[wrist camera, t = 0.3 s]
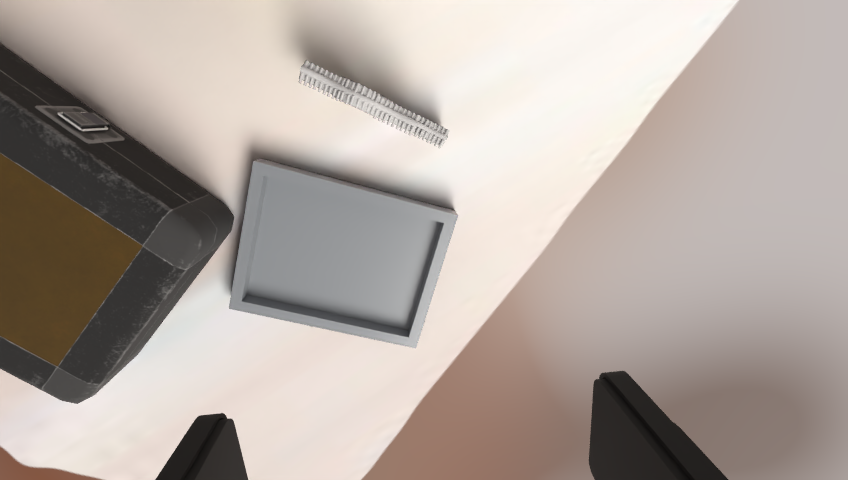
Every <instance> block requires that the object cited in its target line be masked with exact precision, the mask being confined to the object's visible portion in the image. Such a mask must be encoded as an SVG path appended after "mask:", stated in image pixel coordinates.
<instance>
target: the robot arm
mask: <svg viewBox="0 0 848 480" xmlns="http://www.w3.org/2000/svg"><path fill="white" fill-rule="evenodd" d="M589 465H590V469H591V472H592V474H593V477H594V479H595V480H728V479H727V478H726V477H725V476H724V475H723V474H722V472H721V471H720V470H719V469H718V468H717V467H716V466H715V465H714V464H713V463H712V462H711V461H710V460H709V459H708V457H707V456H706V455H705V454H704V453H703V452H702V451H701V450H700V449H699V448H698V447H697V446H696V444H695V443H694V442H693V441H692V440H691V439H690V438H689V437H688V436H687V435H686V434H685V433H684V432H683V431H682V429H681V428H680V427H678V426H677V425H676V424H675V423H673V422H672V421H671V420H670V419H669V418H668V417H667V416H666V414H665V413H664V412H663V411H662V410H661V409H660V408H659V407H658V406H657V405H656V404H655V403H654V402H653V400H652V399H651V398H650V397H649V396H648V395H647V394H646V393H645V392H644V391H643V390H642V389H641V387H640V386H639V385H638V384H637V383H636V382H635V381H634V380H633V379H632V378H631V377H630V376H629V375H628V374H627V373H626V372H625V371H617V372H608V373H602V374H601V375H600V377H599V379H596V380H595V381H594V387H593V404H592V420H591V436H590V452H589ZM156 480H248V477H247V473H246V469H245V465H244V461H243V457H242V453H241V449H240V445H239V441H238V437H237V433H236V429H235V425H234V421H233V420H232V419H227V417H226V415H225V414H223V413H220V414H211V415H201V416H199V417H197V418H196V419H195V421H194V422H193V424H192V425H191V427H190V428H189V430H188V431H187V433H186V434H185V436H184V437H183V439H182V440H181V442H180V443H179V445H178V446H177V448H176V449H175V451H174V452H173V454H172V455H171V457H170V458H169V460H168V461H167V463H166V465H165V466H164V468H163V469H162V471H161V472H160V474H159V475H158V477H157V478H156Z"/></svg>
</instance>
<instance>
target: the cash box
mask: <svg viewBox="0 0 848 480" xmlns="http://www.w3.org/2000/svg"><path fill="white" fill-rule="evenodd" d="M233 220H234V216H233V215H232V213H231V212H230V210H229V209H228V207H227V206H226V205H225V204H223V203H222V202H220V201H219V200H218V199H216V198H215V197H213V196H212V195H211V194H209V193H208V192H207V191H205V190H204V189H202V188H201V187H200V186H198V185H197V184H195V183H194V182H193V181H191V180H190V179H188V178H187V177H186V176H184V175H183V174H181V173H180V172H179V171H177V170H176V169H174V168H173V167H172V166H170V165H169V164H167V163H166V162H165V161H163V160H162V159H160V158H159V157H158V156H156V155H155V154H153V153H152V152H151V151H149V150H148V149H146V148H145V147H144V146H142V145H141V144H139V143H138V142H137V141H135V140H134V139H132V138H131V137H130V136H128V135H127V134H125V133H124V132H123V131H121V130H120V129H118V128H117V127H116V126H114V125H113V124H111V123H110V122H109V121H107V120H106V119H104V118H103V117H102V116H100V115H99V114H97V113H96V112H95V111H93V110H92V109H90V108H89V107H88V106H86V105H85V104H83V103H82V102H81V101H79V100H78V99H76V98H75V97H74V96H72V95H71V94H69V93H68V92H67V91H65V90H64V89H62V88H61V87H60V86H58V85H57V84H55V83H54V82H53V81H51V80H50V79H48V78H47V77H46V76H44V75H43V74H41V73H40V72H39V71H37V70H36V69H34V68H33V67H32V66H30V65H29V64H27V63H26V62H25V61H23V60H22V59H20V58H19V57H18V56H16V55H15V54H13V53H12V52H11V51H9V50H8V49H6V48H5V47H4V46H2V45H1V44H0V369H2V370H4V371H6V372H8V373H10V374H12V375H14V376H15V377H17V378H19V379H21V380H23V381H25V382H27V383H29V384H31V385H33V386H35V387H37V388H38V389H40V390H42V391H44V392H46V393H48V394H50V395H52V396H54V397H56V398H58V399H60V400H62V401H66V402H71V403H76V404H78V403H80V402H82V401H84V400H86V399H88V398H90V397H92V396H93V395H95V394H96V393H97V392H98V391H99V390H100V389H101V388H102V387H103V386H104V385H106V384H107V383H108V382H109V381H110V380H111V379H112V378H113V377H114V376H115V375H116V374H117V373H118V372H119V371H121V370H122V369H123V368H124V367H125V366H126V365H127V364H128V363H129V362H130V361H131V360H132V359H133V358H134V357H136V356H137V355H138V353H139V352H140V351H141V349H142V348H143V347H144V346H145V344H146V343H147V342H148V340H149V339H150V338H151V336H152V335H153V334H154V332H155V331H156V330H157V328H158V327H159V326H160V324H161V323H162V322H163V320H164V319H165V318H166V317H167V315H168V314H169V313H170V311H171V310H172V309H173V307H174V306H175V305H176V303H177V302H178V301H179V299H180V298H181V297H182V295H183V294H184V293H185V291H186V290H187V289H188V287H189V286H190V285H191V283H192V282H193V281H194V279H195V278H196V277H197V275H198V274H199V273H200V272H201V270H202V269H203V268H204V266H205V265H206V264H207V262H208V261H209V260H210V258H211V257H212V256H213V254H214V253H215V252H216V250H217V249H218V248H219V246H220V245H221V244H222V242H223V241H224V240H225V238H226V237H227V236H228V234H229V233H230V232H231V230H232V225H233Z"/></svg>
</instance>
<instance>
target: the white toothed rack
mask: <svg viewBox="0 0 848 480" xmlns="http://www.w3.org/2000/svg"><path fill="white" fill-rule="evenodd" d="M302 80H303V81H305V82H304V85H305V86H306V84H307V83H309V88H311V86H312V85H313V86H314V88H313V89H314V90H315V89H316V87H318V88H319V89H318V92H320V91H321V89H322V90H324V91H323V94H324V95H325V93H326V92H328V95H327V96H328V97H329V96H330V94H332V99H334V97H335V98H336V101H338V99H339V101H341V102H342V101H343V102H345V104H349V105H351V106H353V107H355V108H357V109H359V110H361V111H364V112H366V113H368V114H370V115H372V116H374V117H373V118H374V119H375V118H376V117H377V118H378V121H380V120H383V121H382V122H383V123H384V122H385V120H387V121H388V122H387V125H389V123H390V122H391V123H392V125H391V127H393V126H394V124H395V125H397V126H396V129H398V128H399V127H401V128H400V131H402V129H405V132H404V133H407V131H410V132H409V135H412V134H413V133H414V134H415V135H414V136H415V137H416V135H418V136H419V137H418V138H419V139H420V138H421V137H423V139H422V140H424V139H427V141H426V142H429V141H431V142H430V144H432V143H435V145H434V146H436V145H438V144H439V147H438V148H440V147H441V146H443V144H444V142H445V140H446V139H447V137H448V136H447V135H448V133H449V130H448V129H445V128H444V127H441V126H440V125H437V124H436V123H433V122H432V121H429V120H428V119H425V118H424V117H421V116H420V115H416V114H415V113H414V112H413V113H412V112H410V110H406V108H402V107H401V106H398V105H397V104H393V101H391V100H389V99H388V98H386V97H384V96H382V95H380V94H379V93H376V91H372V90H371V89H370V88H369V89H368V88H366V87H365V86H362V85H360V84H359V83H356V82H353V81H351V80H349V79H347V78H345V77H342V76H341V77H338V76H337V75H336V74H335V75H334V74H333V73H332V72H331V73H330V72H328V70H324V69H323V68H322V67H321V68H320V67H319V66H318V65H314V64H313V63H309V61H307V60H306V61H305V62H304V64H303V66H301V69H300V76H299V83H301V81H302Z"/></svg>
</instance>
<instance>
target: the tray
mask: <svg viewBox="0 0 848 480" xmlns="http://www.w3.org/2000/svg"><path fill="white" fill-rule="evenodd" d="M457 217H458V215H457V213H456V211H455V210H451V209H448V208H444V207H440V206H436V205H433V204H429V203H425V202H422V201H418V200H414V199H410V198H407V197H403V196H399V195H396V194H392V193H388V192H384V191H381V190H377V189H373V188H369V187H366V186H362V185H358V184H355V183H351V182H347V181H343V180H340V179H336V178H332V177H328V176H325V175H321V174H317V173H314V172H310V171H306V170H302V169H299V168H295V167H291V166H288V165H284V164H280V163H276V162H273V161H269V160H265V159H258V160H254V161H253V166H252V172H251V178H250V184H249V190H248V196H247V202H246V208H245V214H244V220H243V226H242V232H241V238H240V244H239V250H238V256H237V262H236V268H235V274H234V280H233V286H232V292H231V298H230V304H229V309H233V310H238V311H243V312H248V313H252V314H257V315H262V316H266V317H271V318H276V319H280V320H285V321H290V322H294V323H299V324H304V325H309V326H313V327H318V328H323V329H327V330H332V331H337V332H341V333H346V334H351V335H355V336H360V337H365V338H370V339H374V340H379V341H384V342H388V343H393V344H398V345H402V346H407V347H412V348H416V347H417V343H418V340H419V337H420V334H421V331H422V328H423V324H424V321H425V318H426V315H427V312H428V309H429V305H430V302H431V299H432V296H433V293H434V290H435V287H436V283H437V280H438V277H439V274H440V271H441V268H442V264H443V261H444V258H445V255H446V252H447V249H448V245H449V242H450V239H451V236H452V233H453V230H454V227H455V223H456V220H457Z"/></svg>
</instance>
